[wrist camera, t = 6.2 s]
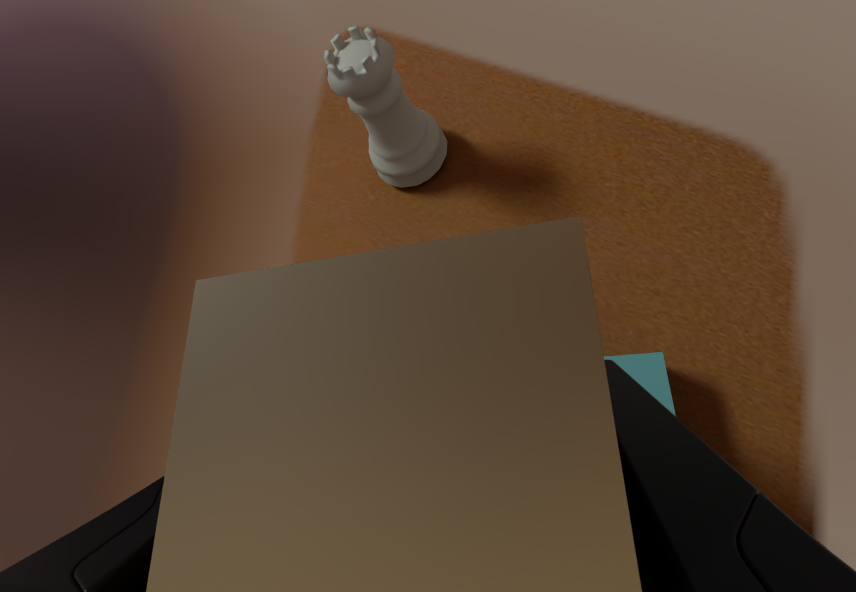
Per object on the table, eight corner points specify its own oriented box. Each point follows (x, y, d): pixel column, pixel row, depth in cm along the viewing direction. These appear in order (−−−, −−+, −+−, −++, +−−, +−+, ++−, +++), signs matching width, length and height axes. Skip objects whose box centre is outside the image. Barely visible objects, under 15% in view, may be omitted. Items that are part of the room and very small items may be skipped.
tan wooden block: (600, 540, 13) (688, 874, 3) (445, 535, 14) (119, 754, 4) (577, 378, 14) (581, 216, 4) (440, 388, 15) (196, 280, 6)
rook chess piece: (389, 125, 27) (321, 11, 20) (457, 126, 26) (410, 2, 18) (369, 189, 26) (291, 94, 19) (439, 194, 25) (383, 91, 17)
